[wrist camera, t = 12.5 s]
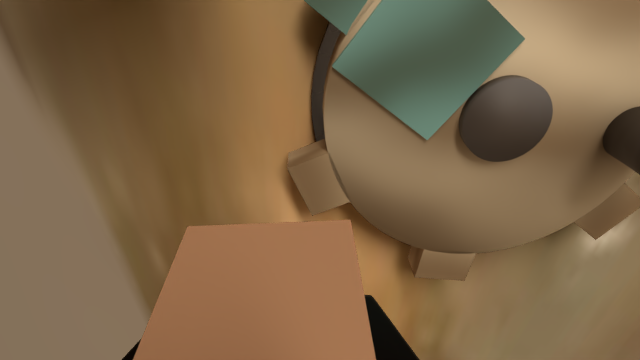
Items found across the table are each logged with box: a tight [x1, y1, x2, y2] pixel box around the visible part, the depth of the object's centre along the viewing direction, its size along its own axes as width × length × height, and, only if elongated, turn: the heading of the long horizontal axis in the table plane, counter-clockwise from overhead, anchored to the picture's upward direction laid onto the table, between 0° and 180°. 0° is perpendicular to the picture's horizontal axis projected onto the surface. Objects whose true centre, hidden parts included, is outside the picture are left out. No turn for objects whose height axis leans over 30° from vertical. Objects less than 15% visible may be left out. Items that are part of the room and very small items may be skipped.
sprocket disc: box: [287, 0, 640, 281], centre depth 16 cm, size 19×18×6 cm
